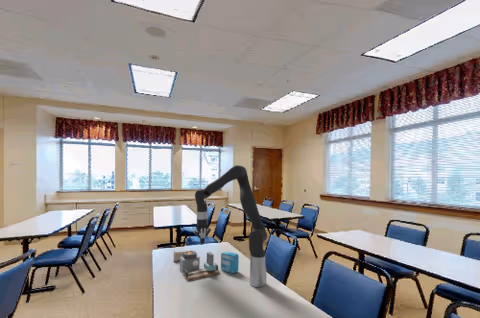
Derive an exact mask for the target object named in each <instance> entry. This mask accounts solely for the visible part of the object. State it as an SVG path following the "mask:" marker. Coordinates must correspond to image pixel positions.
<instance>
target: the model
mask: <svg viewBox="0 0 480 318" xmlns="http://www.w3.org/2000/svg"><path fill="white" fill-rule="evenodd" d="M185 251H189V250H182V251H173V262H177V261H178V260H179V261H180V257H183V253H184V252H185Z"/></svg>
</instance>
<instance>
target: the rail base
mask: <svg viewBox="0 0 480 318" xmlns="http://www.w3.org/2000/svg"><path fill="white" fill-rule="evenodd" d="M213 263H214V264H216V270H211V271H207V270H206V269H205V268H204V267H203V268H199V269H197V270H192V271H187V270H186V269H184V272H182V276H183V277H184V278H185V280H186V281H187V282H190V281H194V280H199V279H204V278H207V277H211V276H215V275H221V274H220V273H221V271H220V270H219V265H218V264H217V263H216V262H213Z"/></svg>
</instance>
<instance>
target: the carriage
mask: <svg viewBox="0 0 480 318" xmlns="http://www.w3.org/2000/svg"><path fill="white" fill-rule="evenodd" d="M214 260H215V259H214V253H212V252H211V251H207V252H206V262H203V268H205V269H206V270H207V271H211V270H216V264H217V263H216V264H214V263H215V262H214Z"/></svg>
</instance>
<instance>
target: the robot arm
mask: <svg viewBox="0 0 480 318" xmlns="http://www.w3.org/2000/svg"><path fill="white" fill-rule="evenodd" d="M235 180H237V182H238V186H239V201H240V205H241V208H242V210H243V212H244V214H245V215H246V217H247V218H248V220H250V223H251V226H252V230H251V231H250V232H249V236H248V249H249V254H250V255H249V256H250V258H249V259H250V261H249V264H250V265H249V285H250V286H251V287H255V288H262V287H265V285H267V267H266V250H265V249H264V243H265V241H266V240H267V239H268V233H267V230H266V228H265V226H264V222H263V221H262V219H261V214H260V212H259V208H258V206H257V202H256V199H255V196H254V194H253V190H252V187H251V185H250V181H249V175H248V171H247V168H246V167H244V166H243V165H237V164H236V165H233V166H232V167H231V168H229V170H227V171H226V172H224V174H222V175H221V176H220V177H219V178H216V179H215V180H213V181H211V182H210V183H208V184H207V185H206V186H205V188H201V189H197V190H196V191H195V193H194V198H195V203H196V227H195V230H193V231H192V232H193V233H194V235H195V236H196V238H199V243H200V244H201V245H202V244H203V245H204V244H205V241H206V240H205V239H206V238H207V237H208V236H209V235H210V232H211V231H212V229H211V228H209V220H208V204H207V202H205V200H206V199H208V198H209V197H211V196H212V195H213V194H215V193H217V192H218V191H219V190H221V189H222V188H224V187H225V185H227V184H228V183H230V182H232V181H235Z"/></svg>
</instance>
